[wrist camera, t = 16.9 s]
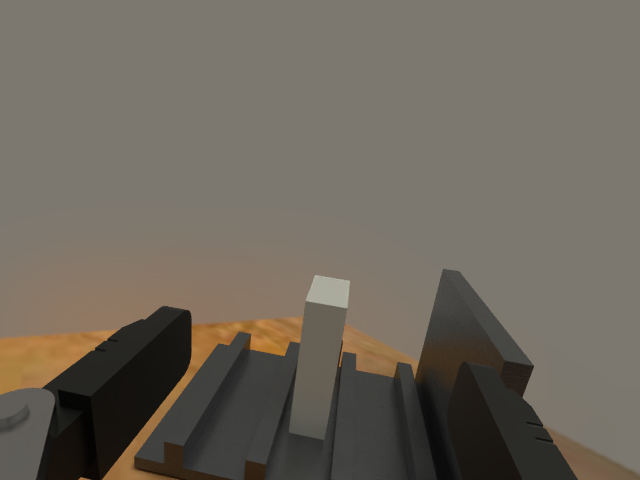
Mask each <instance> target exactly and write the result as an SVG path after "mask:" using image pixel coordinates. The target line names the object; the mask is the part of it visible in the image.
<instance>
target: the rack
mask: <svg viewBox="0 0 640 480" xmlns="http://www.w3.org/2000/svg"><path fill="white" fill-rule="evenodd" d="M250 342H251V334H248V333H243V332H238V334H237V335H236V337H235V338H234V340H233V341H232V342H231V344H230V345H224V344H218V345H217V346H216V348H215V349H214V350H213V352H212V353H211V354H210V356H209V357H208V358H207V360H206V361H205V362H204V364H203V365H202V366H201V368H200V369H199V370H198V372H197V373H196V374H195V376H194V377H193V378H192V380H191V381H190V383H189V384H188V385H187V387H186V388H185V389H184V391H183V392H182V393H181V395H180V396H179V397H178V399H177V400H176V401H175V403H174V404H173V405H172V407H171V408H170V409H169V411H168V412H167V413H166V415H165V416H164V417H163V419H162V420H161V422H160V423H159V424H158V426H157V427H156V428H155V430H154V431H153V432H152V434H151V435H150V436H149V438H148V439H147V440H146V442H145V443H144V444H143V446H142V447H141V448H140V450H139V451H138V452H137V454H136V455H135V456H134V460H135V467H136V468H140V469H144V470H149V471H153V472H157V473H161V474H166V475H170V476H174V477H178V478H183V479H187V480H463V478H462V475H461V472H460V468H459V465H458V461H457V458H456V454H455V451H454V448H453V444H452V441H451V437H450V434H449V430H448V424H447V410H448V404H449V401H450V398H451V394H452V391H453V387H454V384H455V381H456V377H457V374H458V371H459V367H460V365H461V364H462V363H463V362H470V363H475V364H481V365H486V366H492V367H494V368H495V369H496V371H497V373H498V374H499V376H500V378H501V380H502V381H503V383H504V385H505V386H506V388H507V389H511V390H514V391H515V392H516V393H517V394H519V395H520V396H521V397H523V394H524V392H525V389H526V386H527V383H528V381H529V378H530V376H531V373H532V370H533V368H534V365H533V364H532V363H531V361H530V360H529V359H528V358H527V356H526V355H525V354H524V353H523V351H522V350H521V349H520V348H519V346H518V345H517V344H516V343H515V341H514V340H513V339H512V338H511V336H510V335H509V334H508V332H507V331H506V330H505V329H504V327H503V326H502V325H501V324H500V322H499V321H498V320H497V319H496V317H495V316H494V315H493V313H492V312H491V311H490V310H489V308H488V307H487V306H486V305H485V303H484V302H483V301H482V300H481V299H480V297H479V296H478V295H477V293H476V292H475V291H474V290H473V288H472V287H471V286H470V285H469V283H468V282H467V281H466V280H465V278H464V277H463V276H462V274H461V273H460V272H459V271H453V270H447V269H443V272H442V275H441V279H440V284H439V287H438V291H437V295H436V299H435V303H434V306H433V311H432V314H431V318H430V322H429V326H428V330H427V334H426V338H425V342H424V345H423V349H422V353H421V357H420V361H419V365H418V369H417V373H416V377H415V380H414V376H413V371H412V367H411V364H406V363H400V362H398V363H397V367H396V371H395V375H394V378H393V377H388V376H383V375H377V374H372V373H367V372H362V371H357V370H356V354H353V353H348V352H343V356H342V361H341V367H339V362H340V356H341V350H342V345H343V340H342V342H341V348H340V354H339V360H338V366H337V371H336V377H335V383H334V389H333V395H332V400H331V406H330V412H329V418H328V424H327V429H326V435H325V440H322V439H317V438H312V437H308V436H303V435H298V434H294V433H289V425H290V418H291V410H292V402H293V395H294V387H295V379H296V372H297V364H298V356H299V349H300V343H296V342H290V344H289V346H288V349H287V351H286V354H285V356H280V355H275V354H270V353H265V352H260V351H254V350H250Z"/></svg>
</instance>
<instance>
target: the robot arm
mask: <svg viewBox="0 0 640 480" xmlns="http://www.w3.org/2000/svg"><path fill="white" fill-rule="evenodd" d="M191 323H192V322H191V313H190V311H189V310H184V309H179V308H173V307H168V306H163V307H161V308H159V309H158V310H157V311H156V312H154V313H153V314H152V315H150V316H149V317H148V318H147V319H145V320H143V319H141V320H139V321H136V322H134V323H132V324H129V325H127V326H125V327H122V328H121V329H120V330H118V331H117V332H116V333H114V334H113V335H112V336H110V337H109V338H108V340H107V341H104V342H102V343H101V344H100V345H99V346H97V347H96V348H95V350H94V351H91V352H89V353H88V354H87V355H85V356H84V357H83V358H81V359H80V360H79V361H77V362H76V363H75V364H73V365H72V366H71V367H69V368H68V369H67V370H65V371H64V372H63V373H61V374H60V375H59V376H57V377H56V378H55V379H53V380H52V381H51V382H49V383H48V384H47V385H45V386H44V387H43V388H25V389H19V390H15V391H11V392H8V393H5V394H2V395H0V480H78V479H79V478H80V477H83V478H87V479H91V480H102V479H103V477H104V476H105V475H106V474H107V472H108V471H109V470H110V469H111V467H112V466H113V465H114V463H115V462H116V461H117V460H118V458H119V457H120V456H121V455H122V453H123V452H124V451H125V450H126V448H127V447H128V446H129V444H130V443H131V442H132V441H133V439H134V438H135V437H136V436H137V434H138V433H139V432H140V430H141V429H142V428H143V427H144V425H145V424H146V423H147V422H148V420H149V419H150V418H151V417H152V415H153V414H154V413H155V411H156V410H157V409H158V408H159V406H160V405H161V404H162V403H163V401H164V400H165V399H166V397H167V396H168V395H169V394H170V392H171V391H172V390H173V389H174V387H175V386H176V385H177V383H178V382H179V381H180V380H181V378H182V377H183V376H184V374H185V373H186V371H187V369H188V366H189V364H190V360H191ZM447 424H448V430H449V434H450V437H451V441H452V444H453V448H454V451H455V454H456V458H457V461H458V465H459V468H460V472H461V475H462V478H463V480H578V479H577V478H576V476H575V474H574V473H573V471H572V470H571V468H570V467H569V465H568V463H567V462H566V460H565V459H564V457H563V456H562V454H561V452H560V451H559V449H558V448H557V446H556V445H554V444H553V440H552V438H551V437H550V435H549V433H548V432H547V430H546V429H544V428H543V424H542V422H541V421H540V419H539V418H538V416H537V415H536V413H535V411H534V410H533V408H532V407H531V406H530V405H529V404H528V403H527V402H526V401H525V400H524V399H523V398H522V397H521V396H520V395H519V394H517V393H516V392H515V391H514V390H511V389H507V388H506V386H505V385H504V383H503V381H502V380H501V378H500V376H499V374H498V373H497V371H496V369H495V368H494V367H492V366H486V365H481V364H475V363H470V362H463V363H462V364H461V365H460V367H459V371H458V374H457V377H456V381H455V384H454V387H453V391H452V394H451V398H450V401H449V404H448V410H447Z"/></svg>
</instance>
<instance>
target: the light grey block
mask: <svg viewBox="0 0 640 480" xmlns="http://www.w3.org/2000/svg"><path fill="white" fill-rule="evenodd" d="M349 285H350V281H348V280H342V279H336V278H330V277H324V276H318V275H315V277H314V280H313V283H312V286H311V288H310V291H309V293H308V296H307V299H306V303H305V310H304V318H303V326H302V333H301V341H300V349H299V356H298V364H297V372H296V379H295V387H294V395H293V402H292V410H291V418H290V425H289V433H294V434H298V435H303V436H308V437H312V438H317V439H322V440H325V435H326V429H327V424H328V418H329V412H330V406H331V400H332V395H333V389H334V383H335V377H336V371H337V366H338V360H339V354H340V348H341V342H342V337H343V331H344V325H345V319H346V313H347V307H348V296H349Z"/></svg>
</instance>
